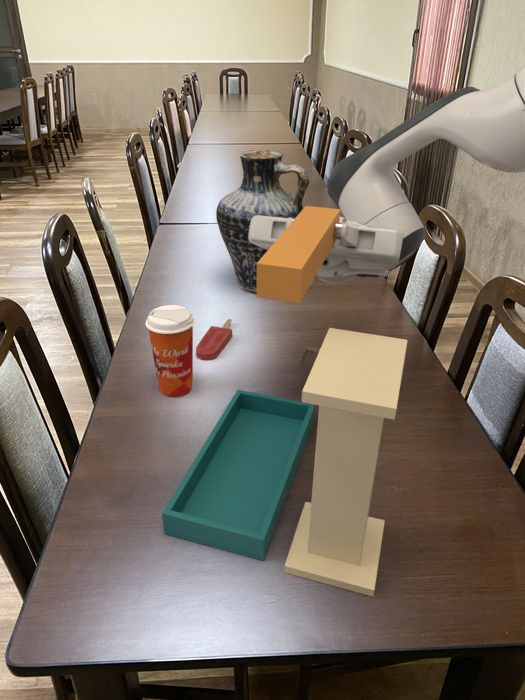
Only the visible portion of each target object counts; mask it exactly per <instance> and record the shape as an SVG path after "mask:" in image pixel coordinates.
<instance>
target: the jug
mask: <svg viewBox="0 0 525 700" xmlns="http://www.w3.org/2000/svg"><path fill="white" fill-rule="evenodd" d="M283 156H284V154H283V153H282V152H278V151H273V150H265V151H262V150H255V149H251V150H245V151H242V152H241V153H240V154H239V157H240V162H241V166H242V171H243V175H242V176H243V177H242V180H241V184H240V186H239V187H237V188H236V189H234V190H233V191H231V192H229V193H227V194H226V195H224V196H223V197H222V198H221V199H220V200H219V202H218V204H217V207H216V211H215V212H216V213H215V215H216V216H215V217H216V218H215V219H216V223H217V226H218V229H219V233H220V236H221V238H222V241H223V243H224V245H225V247H226V250H227V252H228V254H229V255H228V256H229V257H230V260H231V262H232V266H233V269H234V273H235V277H236V281H237V284H238V285H239V287H240V288H242V289H243V290H246V291H251V292H255V293H257V262H258V261H259V260H260V259H261V258H262V257H263V255H264V254H265V253H266V252H267V251H268V250H267V249H263V248H261V247H259V246H257V245H255V244H253V243H251V242H250V241H249V239H248V235H249V227H250V222H251V219H252V217H254V216H256V215H261V216H270V217H279V218H296V217H297V216H298V215H299V213H300V212H301V211H302V210H303V209H304V206H303V200H304V197H305V195H306V192H307V189H308V187H309V185H310V178H309V176H308V175H309V174H308V172H307V171H306V168H304V167H302V166H300V165H298V164H289V165H287V164H286V165H285V163H283V162H282V160H283ZM289 173H294V174H297V175H296V176H297V179H298V180H297V190H296V192H295V195H293V194H292V193H291V192H290V191H287V190H285V189H284V188H283V187H282V186H281V183H280V177H281V175H286V174H289Z"/></svg>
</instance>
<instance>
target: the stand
mask: <svg viewBox="0 0 525 700" xmlns="http://www.w3.org/2000/svg"><path fill="white" fill-rule="evenodd" d="M407 347H408V339H406V338H405V339H404V338H398V337H392V336H384V335H379V334H374V333H373V334H372V333H365V332H359V331H354V330H347V329H339V328H333V327H329V328H328V330H327V333H326V335H325V337H324V339H323V341H322V344H321V345H320V349H319V351H318V353H317V356H316V358H315V361H314V363H313V365H312V368H311V370H310V372H309V374H308V376H307V380H306V381H305V384H304V386H303V387H302V391H301V402H304V403H309V404H314V405H315V406H318V417H317V428H316V439H315V440H316V441H315V451H314V452H315V453H314V463H313V465H314V466H313V475H312V476H313V479H312V488H311V489H312V491H311V502H310V501H305V502H304V504H303V508H302V510H301V513H300V517H299V520H298V523H297V525H296V528H295V531H294V535H293V539H292V540H291V545H290V548H289V551H288V554H287V557H286V559H285V560H286V561H285V563H284V568H283V569H284V571H283V573H285V574H288V575H292V576H296V577H299V578H302V579H307V580H310V581H314V582H317V583H321V584H325V585H329V586H331V587H332V586H333V587H336V588H339V589H342V590H346V591H350V592H354V593H357V594H361V595H364V596H369V597H372V598H373V597H374V596H375V589H376V585H377V577H378V569H379V563H380V556H381V551H382V550H381V548H382V542H383V536H384V529H385V522H386V520H385V519H382V518H381V519H379V518H376V517H372V516H369V514H370V508H371V503H372V497H373V496H372V495H373V489H374V483H375V476H376V471H377V465H378V457H379V451H380V446H381V439H382V434H383V427H384V421H385V419H387V420H396V415H397V408H398V404H399V403H398V402H399V398H400V397H399V396H400V390H401V385H402V379H403V371H404V366H405V360H406V352H407Z"/></svg>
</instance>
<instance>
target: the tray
mask: <svg viewBox="0 0 525 700" xmlns="http://www.w3.org/2000/svg"><path fill="white" fill-rule="evenodd" d="M315 414H316V405H314V404H309V403H304V402H302V400H301V401H300V400H295V399H291V398H284V397H279V396H274V395H269V394H265V393H264V394H263V393H259V392H254V391H249V390H243V389H237V390H235V393H234V394H233V396H232V398H231V399H230V401H229V403H228V404H227V406H226V408H225V409H224V411H223V412H222V414H221V416H220V417H219V419H218V421H217V422H216V424H215V426H214V428H213V429H212V431H211V432H210V434H209V435H208V437H207V439H206V440H205V442H204V443H203V445H202V447H201V448H200V450H199V452H198V453H197V455H196V457H195V459H194V460H193V461H192V463H191V464H190V466H189V468H188V470H187V472H186V473H185V475H184V476H183V478H182V480H181V481H180V483H179V484H178V486H177V488H176V489H175V490H174V493H173V494H172V496H171V498H170V499H169V501H168V502H167V504H166V506H165V507H164V509H163V511H162V513H161V517H162V525H163V534H164V535H167V536H171V537H175V538H179V539H182V540H186V541H189V542H193V543H196V544H199V545H203V546H207V547H211V548H215V549H218V550H222V551H226V552H229V553H233V554H237V555H241V556H244V557H247V558H251V559H255V560H259V561H262V562H263V561H265V558H266V555H267V552H268V550H269V548H270V544H271V541H272V539H273V536H274V533H275V531H276V529H277V526H278V523H279V520H280V517H281V514H282V511H283V509H284V506H285V503H286V500H287V497H288V495H289V493H290V490H291V487H292V484H293V481H294V479H295V475H296V473H297V470H298V468H299V465H300V462H301V459H302V456H303V454H304V451H305V448H306V445H307V443H308V441H309V437H310V435H311V432H312V429H313V427H314V424H315V416H316V415H315Z"/></svg>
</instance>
